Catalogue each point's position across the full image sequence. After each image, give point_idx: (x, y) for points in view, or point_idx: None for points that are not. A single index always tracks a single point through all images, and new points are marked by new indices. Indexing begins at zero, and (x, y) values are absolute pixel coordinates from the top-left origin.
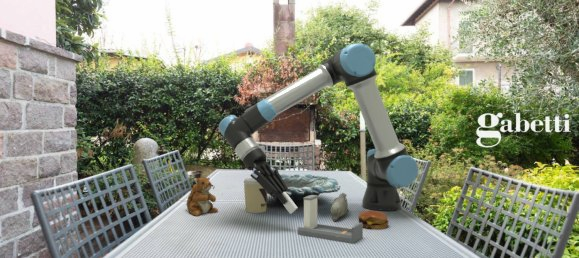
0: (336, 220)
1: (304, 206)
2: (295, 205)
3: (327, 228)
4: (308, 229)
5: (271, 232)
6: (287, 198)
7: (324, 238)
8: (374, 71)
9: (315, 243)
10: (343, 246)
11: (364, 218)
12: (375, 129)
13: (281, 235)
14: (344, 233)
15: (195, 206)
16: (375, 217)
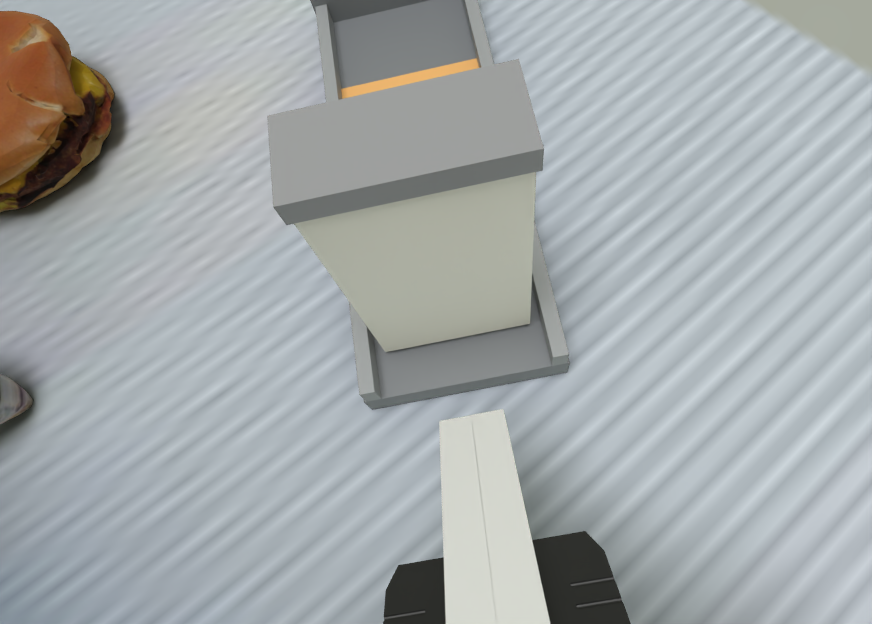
0: (17, 387)
1: (533, 211)
2: (453, 443)
3: None
4: (543, 257)
5: (712, 612)
6: (532, 546)
7: None
8: None
9: (649, 136)
10: (563, 5)
11: (64, 97)
12: None
13: (704, 457)
14: (393, 78)
15: None
16: (47, 26)
